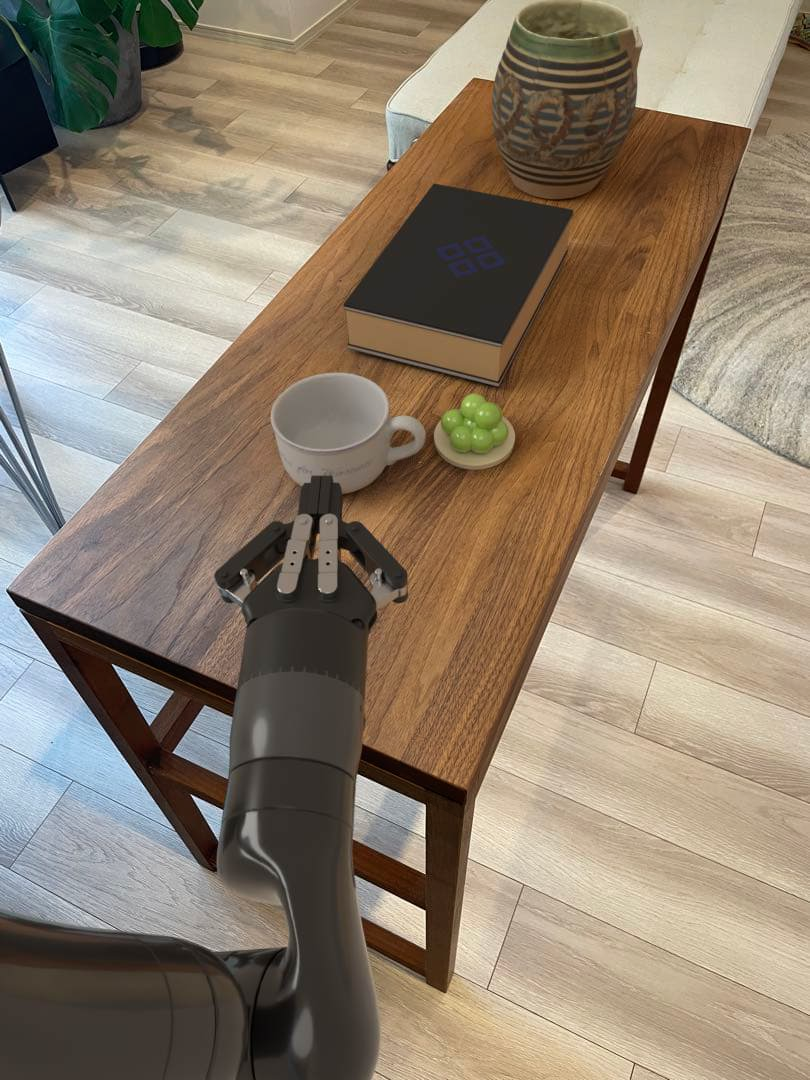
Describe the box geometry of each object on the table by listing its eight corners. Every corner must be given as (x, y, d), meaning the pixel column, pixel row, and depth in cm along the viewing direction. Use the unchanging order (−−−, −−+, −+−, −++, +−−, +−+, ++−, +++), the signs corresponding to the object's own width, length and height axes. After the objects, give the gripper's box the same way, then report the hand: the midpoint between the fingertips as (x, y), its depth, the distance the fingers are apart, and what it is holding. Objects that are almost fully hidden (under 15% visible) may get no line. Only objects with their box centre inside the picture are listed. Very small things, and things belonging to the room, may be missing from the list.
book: (348, 354, 91) (342, 303, 86) (433, 232, 105) (433, 182, 99) (498, 393, 86) (501, 342, 81) (567, 260, 100) (574, 209, 95)
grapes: (446, 477, 79) (446, 437, 75) (424, 420, 84) (423, 380, 80) (525, 460, 80) (530, 420, 76) (500, 405, 85) (503, 364, 81)
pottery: (466, 194, 110) (470, 29, 94) (520, 134, 119) (533, -26, 103) (592, 227, 104) (619, 57, 88) (640, 162, 113) (672, -4, 97)
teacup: (263, 492, 79) (248, 432, 73) (313, 417, 85) (303, 356, 79) (398, 533, 75) (394, 474, 69) (441, 452, 81) (440, 390, 75)
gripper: (412, 676, 45) (415, 445, 56) (171, 676, 46) (219, 446, 56) (414, 734, 51) (417, 515, 62) (202, 733, 52) (240, 516, 62)
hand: (323, 483), depth 59 cm, fingers closed
